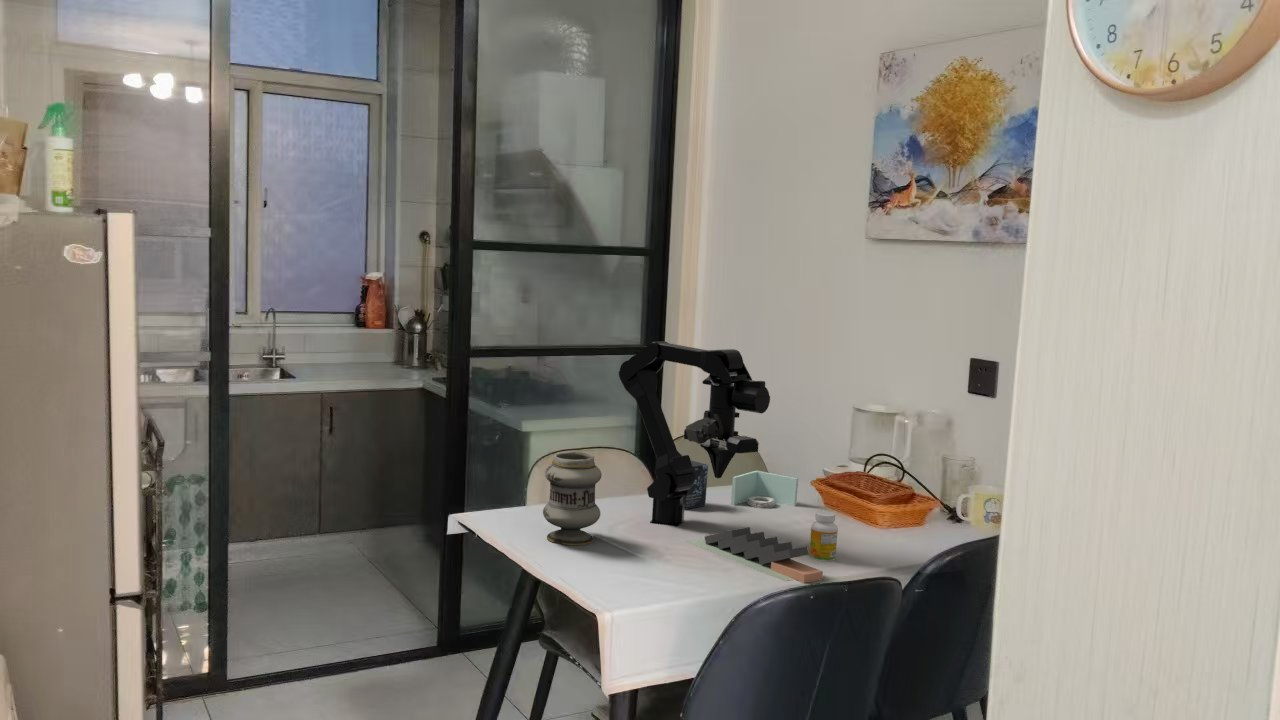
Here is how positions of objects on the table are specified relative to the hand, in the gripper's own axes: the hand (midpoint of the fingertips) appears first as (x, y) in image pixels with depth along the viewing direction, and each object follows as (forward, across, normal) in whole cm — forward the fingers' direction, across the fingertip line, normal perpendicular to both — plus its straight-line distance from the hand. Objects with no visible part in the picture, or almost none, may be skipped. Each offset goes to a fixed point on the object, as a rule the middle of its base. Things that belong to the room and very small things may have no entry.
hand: (717, 477), depth 229 cm
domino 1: (+12, +5, -5) cm, 14 cm away
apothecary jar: (+13, -11, -30) cm, 35 cm away
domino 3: (+12, +14, -5) cm, 19 cm away
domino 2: (+12, +10, -5) cm, 16 cm away
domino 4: (+12, +18, -5) cm, 22 cm away
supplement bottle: (+13, +24, +9) cm, 29 cm away
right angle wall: (+14, -17, +31) cm, 38 cm away
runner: (+13, +17, -5) cm, 22 cm away
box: (+13, -24, +12) cm, 30 cm away
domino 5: (+12, +22, -5) cm, 25 cm away
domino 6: (+12, +26, -5) cm, 28 cm away
